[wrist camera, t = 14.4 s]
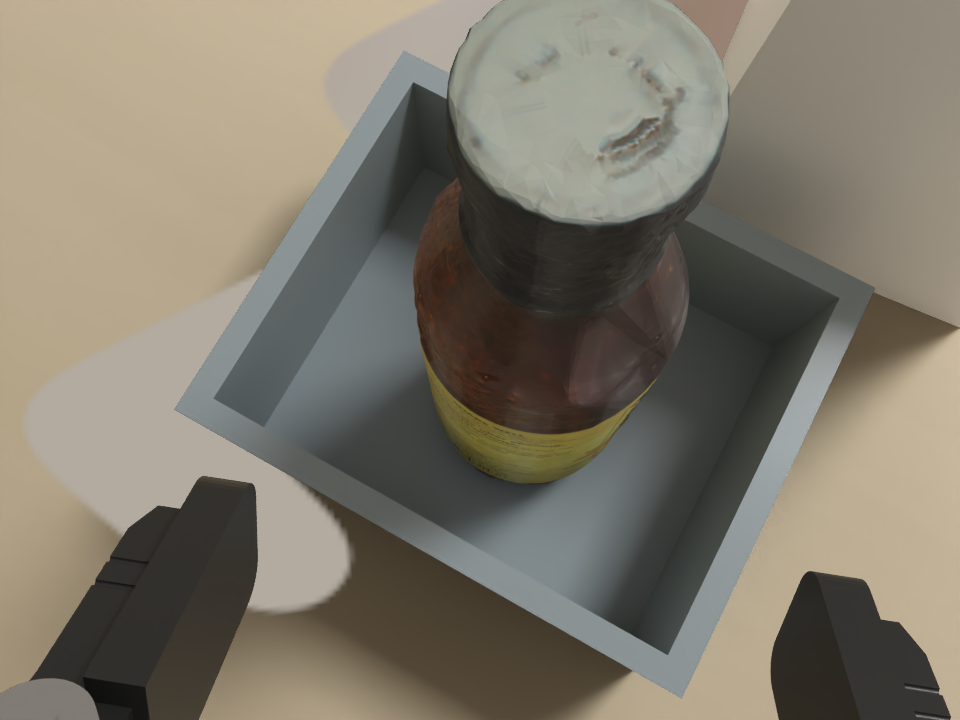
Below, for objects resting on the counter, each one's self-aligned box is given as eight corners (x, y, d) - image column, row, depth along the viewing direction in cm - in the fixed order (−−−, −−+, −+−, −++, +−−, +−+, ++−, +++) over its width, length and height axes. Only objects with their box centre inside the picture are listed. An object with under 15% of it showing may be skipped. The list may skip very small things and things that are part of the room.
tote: (237, 442, 32) (174, 409, 25) (417, 152, 35) (403, 50, 28) (635, 669, 30) (681, 698, 24) (793, 345, 33) (875, 287, 26)
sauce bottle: (626, 476, 31) (880, 324, 12) (447, 500, 31) (401, 385, 11) (596, 296, 32) (777, -106, 13) (425, 318, 32) (350, -58, 13)
